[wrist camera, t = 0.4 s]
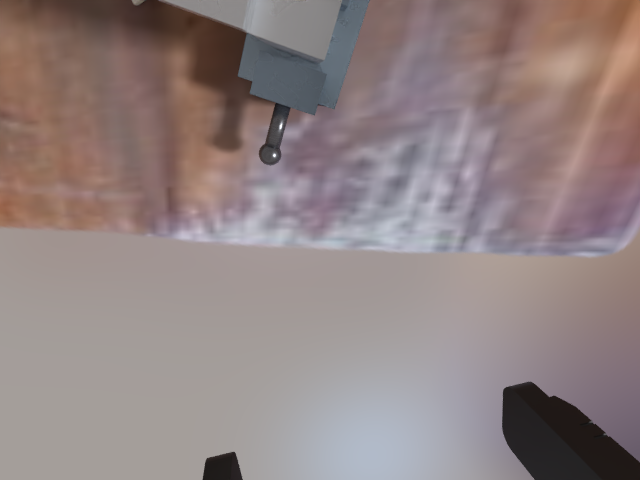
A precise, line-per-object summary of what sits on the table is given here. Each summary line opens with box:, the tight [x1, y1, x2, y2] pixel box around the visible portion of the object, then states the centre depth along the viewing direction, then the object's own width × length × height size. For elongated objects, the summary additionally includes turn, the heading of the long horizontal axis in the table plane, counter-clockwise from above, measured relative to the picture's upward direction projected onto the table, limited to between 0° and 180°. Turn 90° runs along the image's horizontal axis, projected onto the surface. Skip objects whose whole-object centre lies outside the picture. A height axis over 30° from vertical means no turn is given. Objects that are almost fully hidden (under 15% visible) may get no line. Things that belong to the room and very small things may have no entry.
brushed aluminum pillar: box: [158, 0, 342, 64], centre depth 21 cm, size 8×4×15 cm, turn 72°
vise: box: [238, 0, 369, 165], centre depth 29 cm, size 8×15×4 cm, turn 162°
